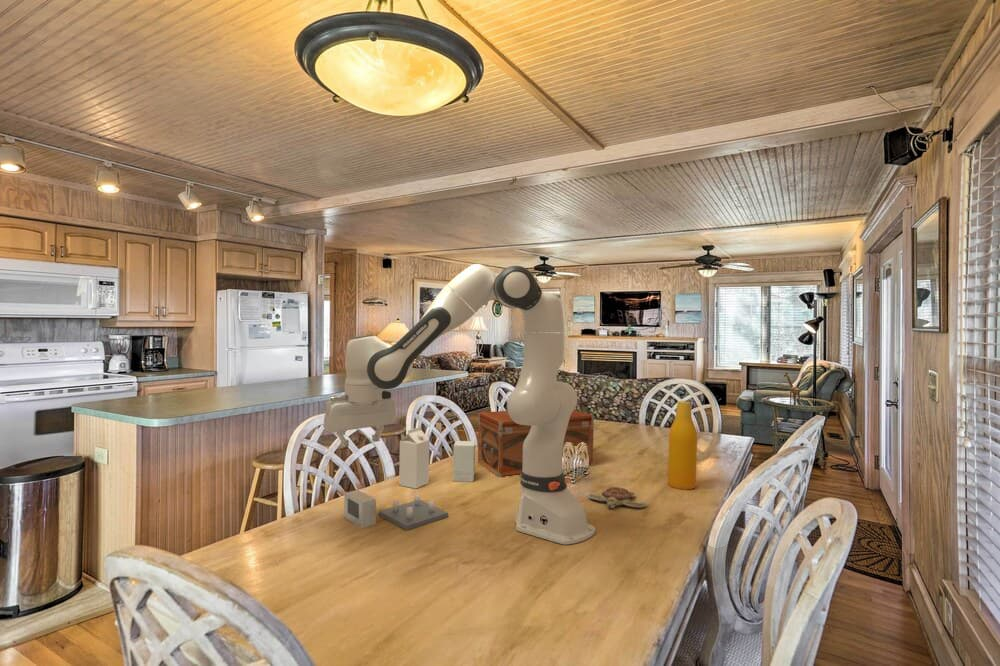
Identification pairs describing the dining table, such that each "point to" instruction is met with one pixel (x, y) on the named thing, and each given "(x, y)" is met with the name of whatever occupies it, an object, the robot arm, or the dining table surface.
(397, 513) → the pin tray
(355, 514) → the block
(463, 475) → the supplement box
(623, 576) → the dining table surface
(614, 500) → the decorative turtle
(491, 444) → the wooden box
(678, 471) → the beer bottle
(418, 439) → the milk carton
